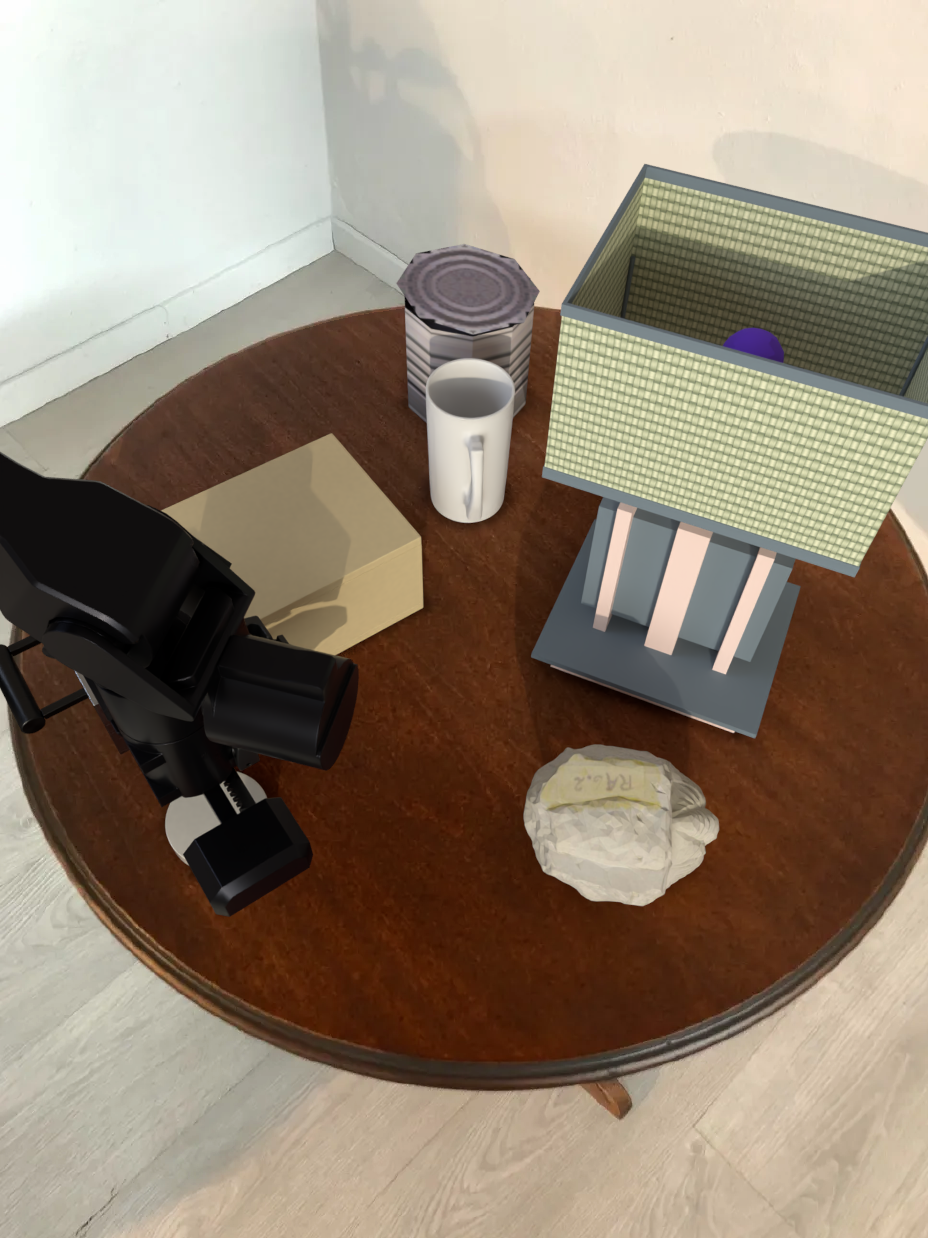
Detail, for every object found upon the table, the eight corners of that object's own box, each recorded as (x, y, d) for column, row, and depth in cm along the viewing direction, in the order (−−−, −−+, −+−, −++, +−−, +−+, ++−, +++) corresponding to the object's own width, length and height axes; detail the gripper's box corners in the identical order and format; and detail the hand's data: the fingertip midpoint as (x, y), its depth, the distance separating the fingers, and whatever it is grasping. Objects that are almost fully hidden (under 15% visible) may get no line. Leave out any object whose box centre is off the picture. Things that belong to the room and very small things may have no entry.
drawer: (57, 789, 69) (23, 741, 63) (-3, 671, 74) (-39, 617, 69) (292, 663, 75) (280, 609, 69) (221, 563, 80) (205, 505, 75)
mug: (425, 468, 88) (422, 359, 78) (502, 464, 88) (509, 355, 78) (433, 559, 82) (431, 454, 72) (515, 554, 82) (525, 449, 73)
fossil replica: (729, 887, 67) (653, 767, 73) (764, 822, 60) (678, 697, 66) (565, 952, 63) (499, 820, 69) (585, 890, 57) (511, 751, 63)
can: (423, 342, 97) (421, 230, 88) (539, 363, 96) (550, 253, 86) (388, 422, 91) (382, 312, 81) (512, 447, 89) (520, 337, 80)
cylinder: (198, 895, 66) (193, 885, 64) (154, 815, 69) (147, 803, 67) (291, 839, 68) (288, 828, 66) (243, 764, 71) (239, 752, 70)
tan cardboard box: (257, 697, 74) (237, 631, 67) (181, 584, 80) (156, 511, 73) (423, 607, 79) (421, 536, 72) (341, 507, 85) (331, 432, 78)
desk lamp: (519, 668, 76) (559, 307, 49) (581, 536, 84) (646, 161, 57) (758, 756, 72) (943, 415, 45) (801, 608, 80) (981, 242, 53)
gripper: (385, 750, 53) (396, 864, 66) (222, 524, 62) (260, 663, 74) (189, 865, 49) (242, 962, 62) (45, 607, 58) (117, 738, 71)
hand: (218, 818), depth 67 cm, fingers open, 9 cm apart
